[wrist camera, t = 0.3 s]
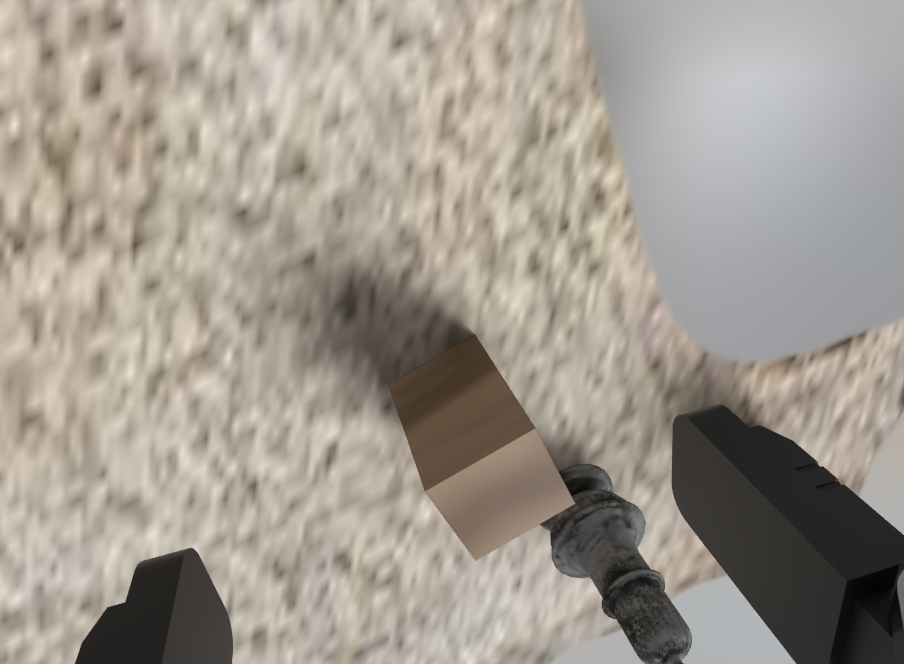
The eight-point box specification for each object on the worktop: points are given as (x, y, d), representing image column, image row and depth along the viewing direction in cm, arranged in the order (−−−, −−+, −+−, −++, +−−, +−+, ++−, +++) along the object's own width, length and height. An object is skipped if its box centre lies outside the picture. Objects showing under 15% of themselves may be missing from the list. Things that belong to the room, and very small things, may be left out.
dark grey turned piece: (548, 457, 37) (661, 635, 26) (630, 463, 39) (763, 630, 29) (515, 533, 39) (608, 724, 29) (594, 535, 41) (707, 713, 31)
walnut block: (388, 383, 31) (425, 491, 24) (474, 334, 31) (535, 428, 24) (431, 447, 34) (475, 560, 27) (511, 402, 34) (575, 503, 27)
